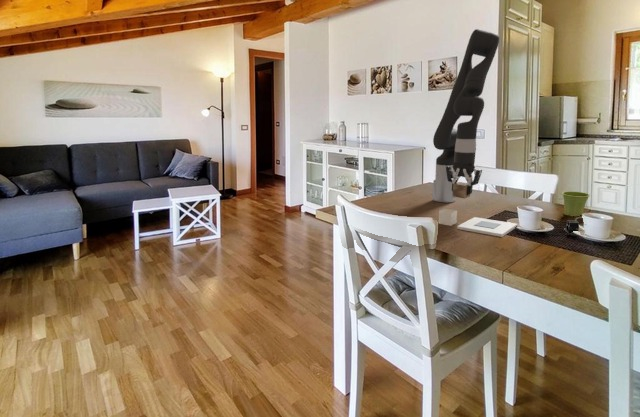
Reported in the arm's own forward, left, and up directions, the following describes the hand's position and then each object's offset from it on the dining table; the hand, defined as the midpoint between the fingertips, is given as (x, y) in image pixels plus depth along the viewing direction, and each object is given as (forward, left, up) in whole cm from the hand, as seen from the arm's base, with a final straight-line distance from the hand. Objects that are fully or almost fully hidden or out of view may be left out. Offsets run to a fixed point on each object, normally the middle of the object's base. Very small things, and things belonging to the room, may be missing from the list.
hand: (461, 193), depth 164 cm
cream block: (-1, -9, -10) cm, 14 cm away
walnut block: (0, 0, -1) cm, 1 cm away
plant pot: (+33, +32, -10) cm, 47 cm away
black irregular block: (+38, +5, -11) cm, 40 cm away
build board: (+13, -6, -10) cm, 18 cm away
